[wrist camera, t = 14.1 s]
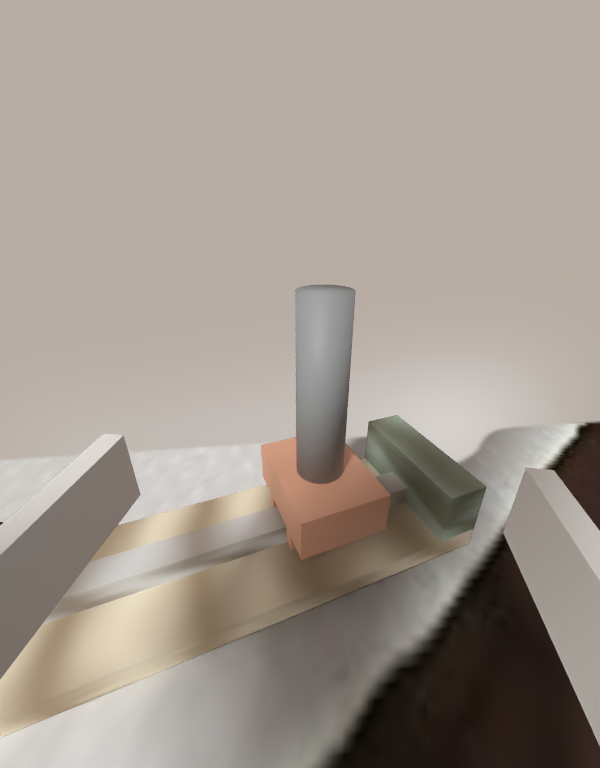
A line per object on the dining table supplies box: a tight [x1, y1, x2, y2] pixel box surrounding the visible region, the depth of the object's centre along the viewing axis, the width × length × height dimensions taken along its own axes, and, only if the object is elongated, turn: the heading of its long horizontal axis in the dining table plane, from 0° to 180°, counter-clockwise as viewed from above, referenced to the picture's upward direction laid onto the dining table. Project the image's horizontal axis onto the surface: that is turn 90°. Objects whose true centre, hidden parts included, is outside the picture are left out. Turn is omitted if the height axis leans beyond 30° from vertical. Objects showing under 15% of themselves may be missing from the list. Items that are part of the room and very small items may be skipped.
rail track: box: [0, 415, 486, 738], centre depth 23 cm, size 36×10×6 cm, turn 112°
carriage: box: [261, 285, 391, 560], centre depth 22 cm, size 6×8×16 cm
